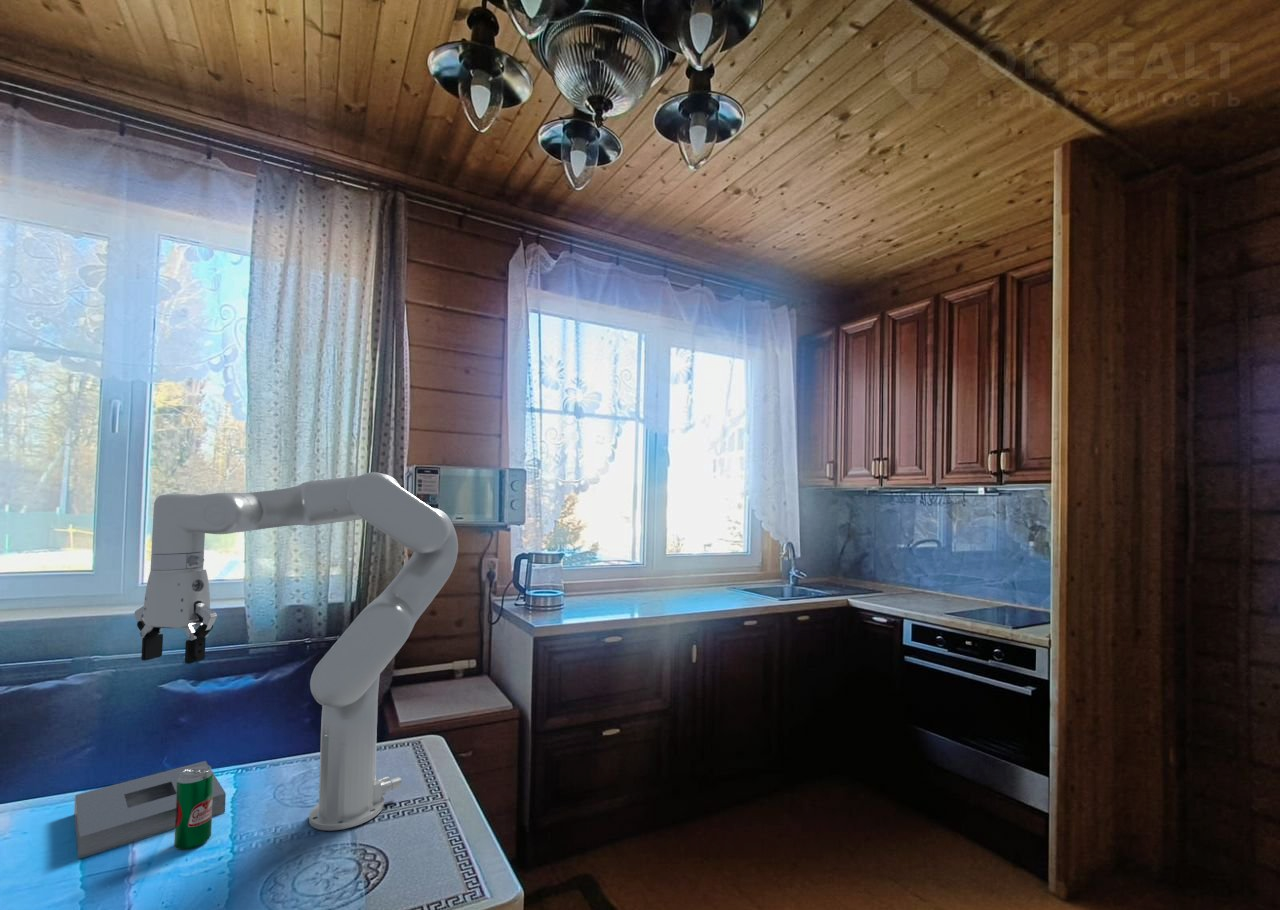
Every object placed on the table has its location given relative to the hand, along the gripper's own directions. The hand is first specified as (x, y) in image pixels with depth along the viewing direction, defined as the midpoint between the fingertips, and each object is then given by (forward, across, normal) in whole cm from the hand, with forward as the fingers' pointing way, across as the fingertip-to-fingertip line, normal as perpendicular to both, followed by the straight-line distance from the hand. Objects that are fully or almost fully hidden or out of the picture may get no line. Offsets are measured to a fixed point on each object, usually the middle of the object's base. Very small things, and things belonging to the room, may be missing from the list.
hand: (173, 660), depth 105 cm
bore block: (+30, +11, -6) cm, 33 cm away
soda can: (+31, -6, 0) cm, 31 cm away
